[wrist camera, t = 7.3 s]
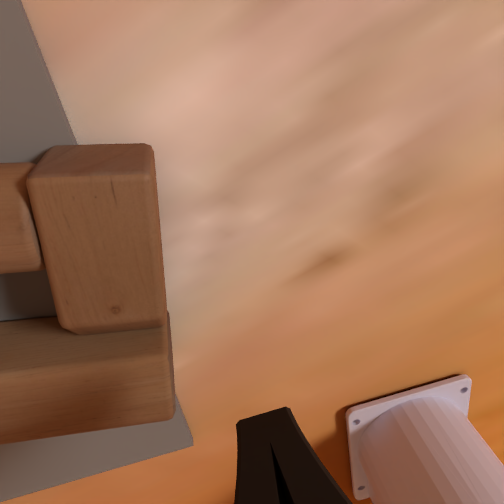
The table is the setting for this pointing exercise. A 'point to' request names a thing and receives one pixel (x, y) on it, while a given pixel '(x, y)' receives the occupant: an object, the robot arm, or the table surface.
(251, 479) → the robot arm
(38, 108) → the mat
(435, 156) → the table surface
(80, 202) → the wooden block
